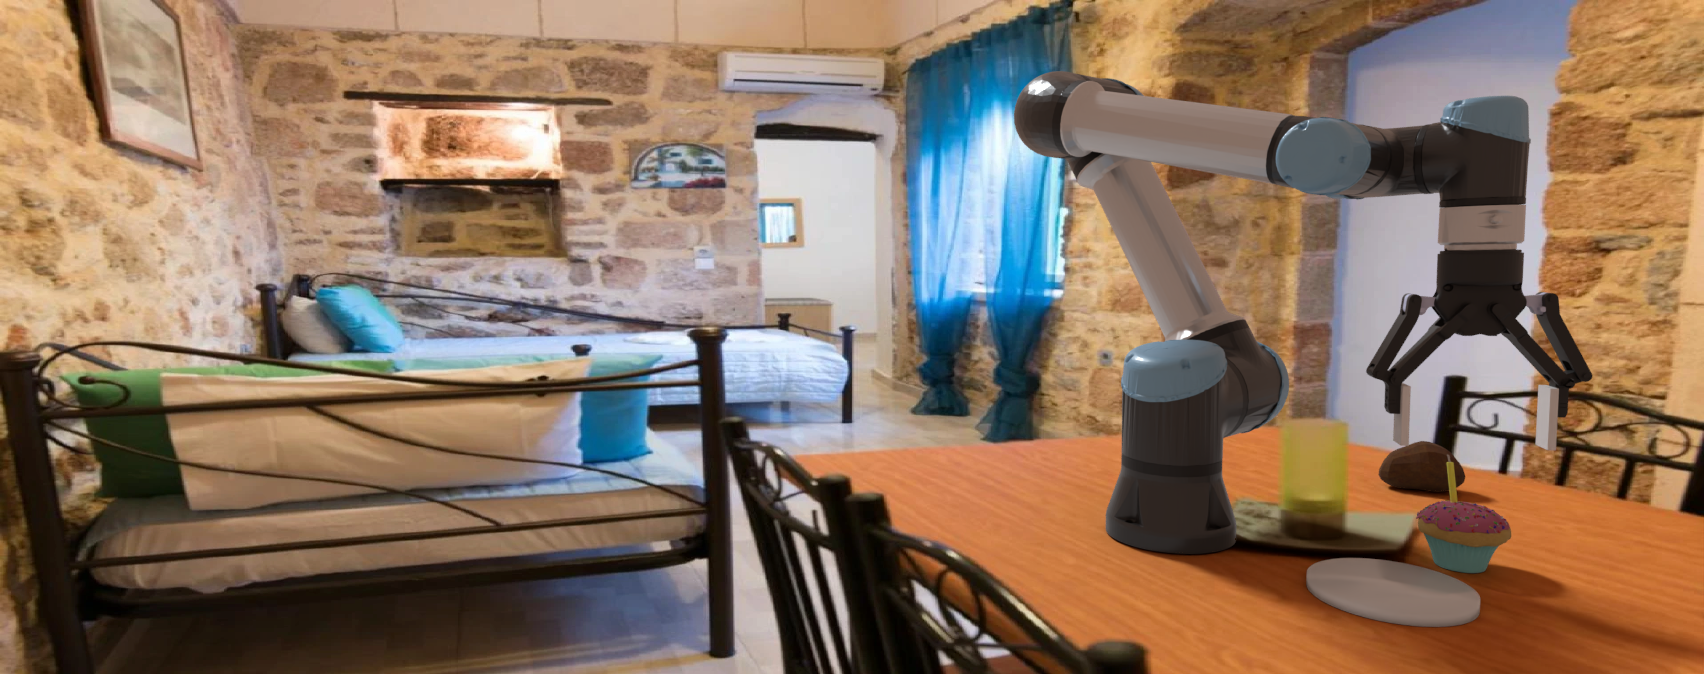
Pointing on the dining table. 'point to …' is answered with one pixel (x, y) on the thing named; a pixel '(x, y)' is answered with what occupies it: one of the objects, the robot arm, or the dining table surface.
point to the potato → (1420, 467)
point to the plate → (1393, 592)
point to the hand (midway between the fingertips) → (1471, 445)
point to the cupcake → (1462, 531)
